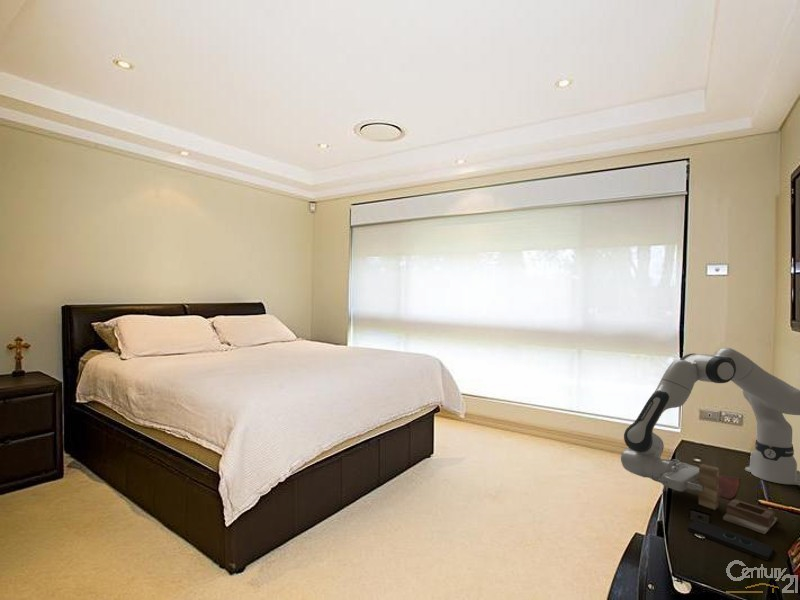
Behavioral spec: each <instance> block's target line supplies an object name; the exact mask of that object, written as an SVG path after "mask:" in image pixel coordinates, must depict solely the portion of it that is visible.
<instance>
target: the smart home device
mask: <svg viewBox="0 0 800 600" xmlns="http://www.w3.org/2000/svg"><path fill="white" fill-rule="evenodd" d="M687 531H689V532H690V533H692V534H696V535H698V536H701V537H704V538H707V539H709V540H711V541H715V542H717V543H719V544H722V545H725V546H728V547H730V548H733V549H735V550H738V551H740V552H743V553H745V552H746V554H748V553H749V555H751V554H752V555H751V556H753V555H755V556H754V557H756V556H758V557H757V558H759V557H761V558H764V559H768V558H769V557H770V558H771V556H772V555H771V554H773V553H774V552H773V551H775V549H774V546H772V545H770V544H767V543H764V542H761V541H759V540H756V539H754V538H750V537H748V536H745V535H742V534H739V533H736V532H734V531H731V530H728V529H725V528H723V527H720V526H717V525H714V524H712V523H708V522H705V521H702V520H700V519H694V520H693V521H692V522H691V523H690V524H688V526H687ZM770 555H771V556H770ZM761 558H760V559H761ZM770 558H769V559H770ZM764 559H763V560H764ZM769 559H768V560H769Z"/></svg>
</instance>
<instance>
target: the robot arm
mask: <svg viewBox="0 0 800 600" xmlns="http://www.w3.org/2000/svg"><path fill="white" fill-rule="evenodd" d="M697 381H701V382H707V383H714V384H726V383H729V382H730V381H731V382H732V383H734V384H735V385H736V386H737V387H739V388H740V389H742V394H743V397H744V399H746V401H747V402H748V403H749V405H750V406H751V408H752V411H753V413H754V416H755V421H756V440H755V442H754V445H755V448H754V449H755V450H753V451H751V453H750V459H749V466H745V468H744V470H745V471H746V472H748V473H750V472H751V473H750V474H752V475H753V476H755V477H756V478H758V479H761V480H764V481H767V482H770V483H771V482H772V483H775V484H776V483H777V484H783V485H794V486H795V485H796V486H800V471H799V470H798V463H797V460H796V458H795V456H794V455H795V453H794V452H795V449H794V445H793V426H792V425H791V424H790V423H789V421H787V419H786V417H785V416H784V414H785V415H791V416H792V415H793V416H800V389H798V388H796V387H794V386H793V385H791V384H789V383H787V382H786V381H784V380H783V379H780V378H779V377H777V376H775V375H773V374H772V373H770V372H768V371H766V370H764V369H763V368H762V367H761V366H760V365H758V364H757V363H755V362H754V361H753V360H751V358H749V357H747V356H745V354H743V353H741V352H739V351H737V350H736V349H733V348H730V347H722V348H720V349H718V350H717V351H715V352H714V353H713V354H707V353H705V354H704V353H687V354H685V355H683V356H682V357H681V358H680V359H676V360H674V361H672V362H671V363H670V365H669V366H668V367H667V369H666V370H665V372H664V374H663V376H662V377H661V379H660V381H659V382H658V385H657V387H656V389H655V391H654V392H653V393H652V394H651V396H650V397H649V398H648V400H646V403H645V405H644V406H643V408H642V410H641V411H640V413H639V414H638V416H637V418H636V419H635V421H633V422H632V423H631V424H630V425H629V426H627V428H626V429H625V431H624V432H623V433H624V434H623V441H624V443H625V445H626V446H627V448H626V449H624V450H623V451H621V456H620V462H621V465H622V467H623V469H624V470H626V471H627V472H628V473H631V474H634V475H636V476H639V477H642V478H647V479H648V478H649V479H650V480H652V481H654V482H658V483H660V484H661V485H663V486H664V487H666V488H669V489H671V490H674V491H677V492H684V491H685V490H687V489H688V490H695V491H698V492H699V491H702V490H704V486H703V485H700V484H699V467H698V466H696V465H691V464H689V463H686V462H681V461H680V460H679V459H675V458H672V459H665V458H661V456H662V454H663V451H664V445H665V444H664V442H663V439H662V438H661V437H660V436H659V435H657V434H656V433H655V432H653V431H654V428H655V426H656V425H657V423H658V421H659V420H660V418H661V416H662V414H663V413H664V412H665V411H667V410H669V409H675V408H679V407H682V406H683V405H684V404H685V403H686V402H687V401H688V399H689V397H690V395H691V394H692V391H693V389H694V386H695V383H696V382H697ZM697 482H698V483H697Z"/></svg>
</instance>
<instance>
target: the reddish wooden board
mask: <svg viewBox="0 0 800 600" xmlns="http://www.w3.org/2000/svg"><path fill="white" fill-rule="evenodd" d="M726 475H727V474H723V475H719V484H718V498H719V497H720V498H721V499H726V500H733V499H734V497H735V496H736V494H737V493H738V490H739V488H740V487H739V486H740V483H739V481H740V482H741V479H740V478H739V477H738V476H733V475H728V476H726ZM732 476H733V477H732ZM737 477H738V478H737ZM739 479H740V480H739Z"/></svg>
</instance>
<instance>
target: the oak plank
mask: <svg viewBox="0 0 800 600" xmlns="http://www.w3.org/2000/svg"><path fill="white" fill-rule="evenodd" d="M698 468H699V481H698V484H700V485H703V486H704V490H702V491H699V490H698V505H700V506H703V507H705V508H707V509H712V510H714V511H715V510H717V509H718V508H719V496H718V484H719V474H720V472H719V471H720V469H719V468H718V467H717V466H712V465H708V464H704V463H701V464H700V465H699V467H698Z"/></svg>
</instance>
